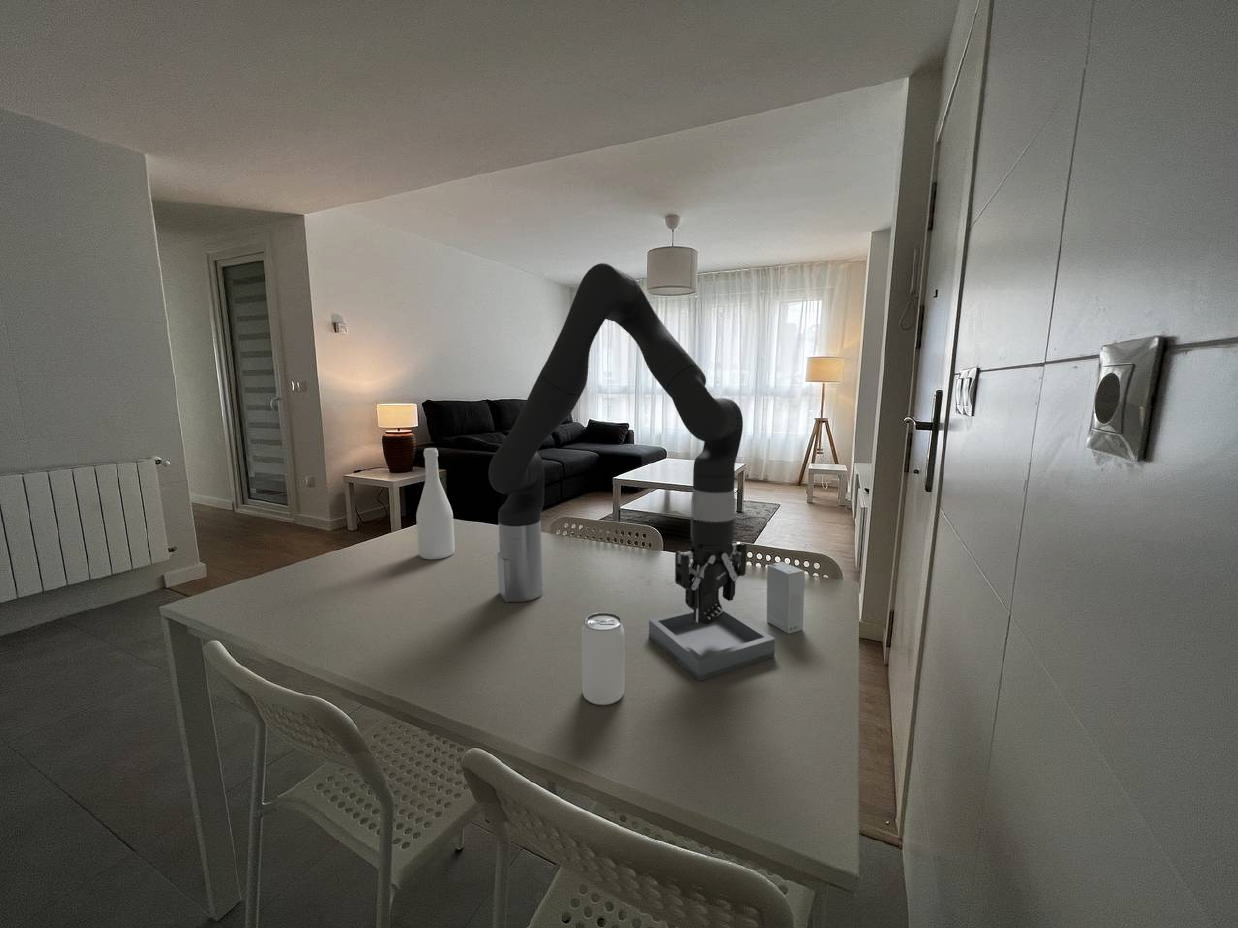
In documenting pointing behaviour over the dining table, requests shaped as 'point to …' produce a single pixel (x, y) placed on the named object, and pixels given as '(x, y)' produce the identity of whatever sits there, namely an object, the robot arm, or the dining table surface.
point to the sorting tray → (711, 642)
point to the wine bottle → (434, 514)
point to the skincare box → (785, 597)
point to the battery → (710, 592)
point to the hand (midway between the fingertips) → (710, 603)
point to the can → (603, 659)
